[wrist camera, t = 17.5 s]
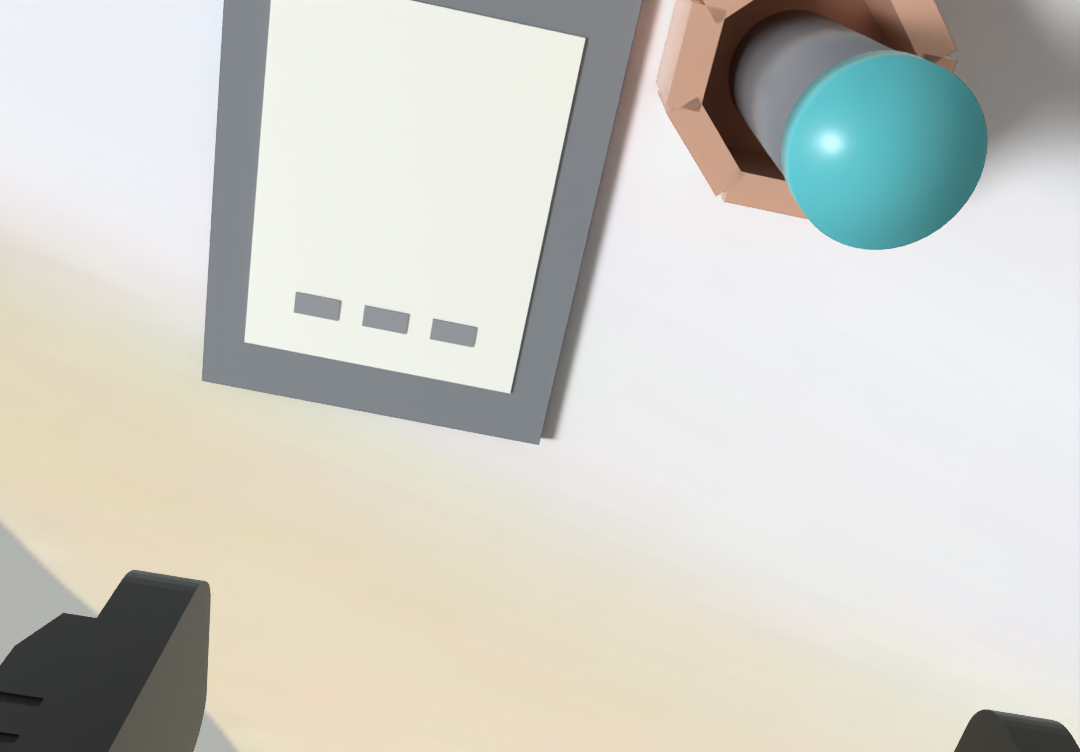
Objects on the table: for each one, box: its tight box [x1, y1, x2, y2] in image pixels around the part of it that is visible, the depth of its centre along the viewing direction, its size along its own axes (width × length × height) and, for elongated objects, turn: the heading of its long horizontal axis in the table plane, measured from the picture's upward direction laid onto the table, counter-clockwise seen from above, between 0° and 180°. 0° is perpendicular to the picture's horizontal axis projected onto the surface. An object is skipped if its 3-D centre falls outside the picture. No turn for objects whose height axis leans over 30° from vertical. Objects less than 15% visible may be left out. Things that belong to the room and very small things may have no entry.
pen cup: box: [656, 0, 957, 219], centre depth 31 cm, size 8×8×4 cm
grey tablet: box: [202, 0, 642, 445], centre depth 35 cm, size 17×13×1 cm
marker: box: [728, 9, 987, 250], centre depth 26 cm, size 4×4×12 cm
